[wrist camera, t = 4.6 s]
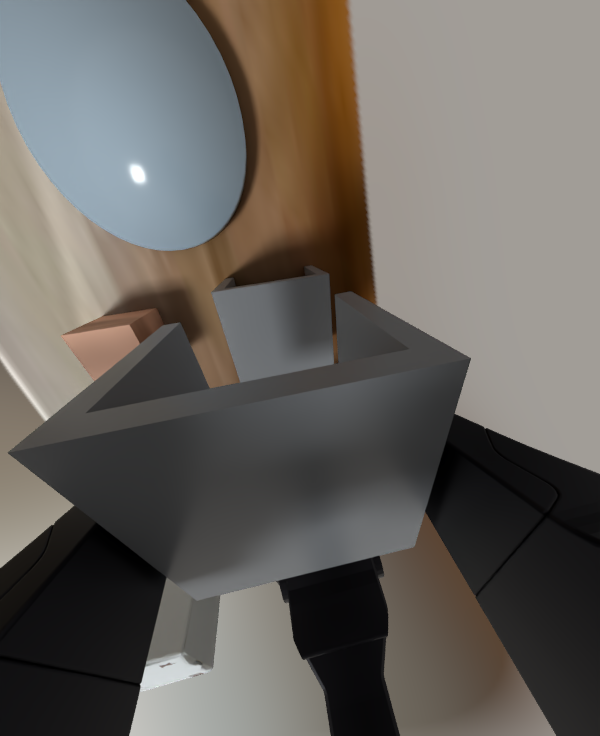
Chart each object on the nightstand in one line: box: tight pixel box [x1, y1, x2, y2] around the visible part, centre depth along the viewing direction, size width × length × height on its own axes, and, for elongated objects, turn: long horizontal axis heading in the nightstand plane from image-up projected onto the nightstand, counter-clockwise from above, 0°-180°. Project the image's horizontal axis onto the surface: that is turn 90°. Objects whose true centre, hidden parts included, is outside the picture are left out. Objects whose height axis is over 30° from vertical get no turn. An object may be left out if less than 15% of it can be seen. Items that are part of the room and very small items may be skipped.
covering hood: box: [8, 291, 471, 601], centre depth 7 cm, size 7×7×5 cm
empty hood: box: [211, 265, 334, 383], centre depth 16 cm, size 7×7×5 cm
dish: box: [0, 0, 247, 251], centre depth 12 cm, size 11×11×1 cm
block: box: [61, 308, 164, 381], centre depth 16 cm, size 4×4×4 cm
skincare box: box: [140, 578, 220, 691], centre depth 20 cm, size 8×6×15 cm
